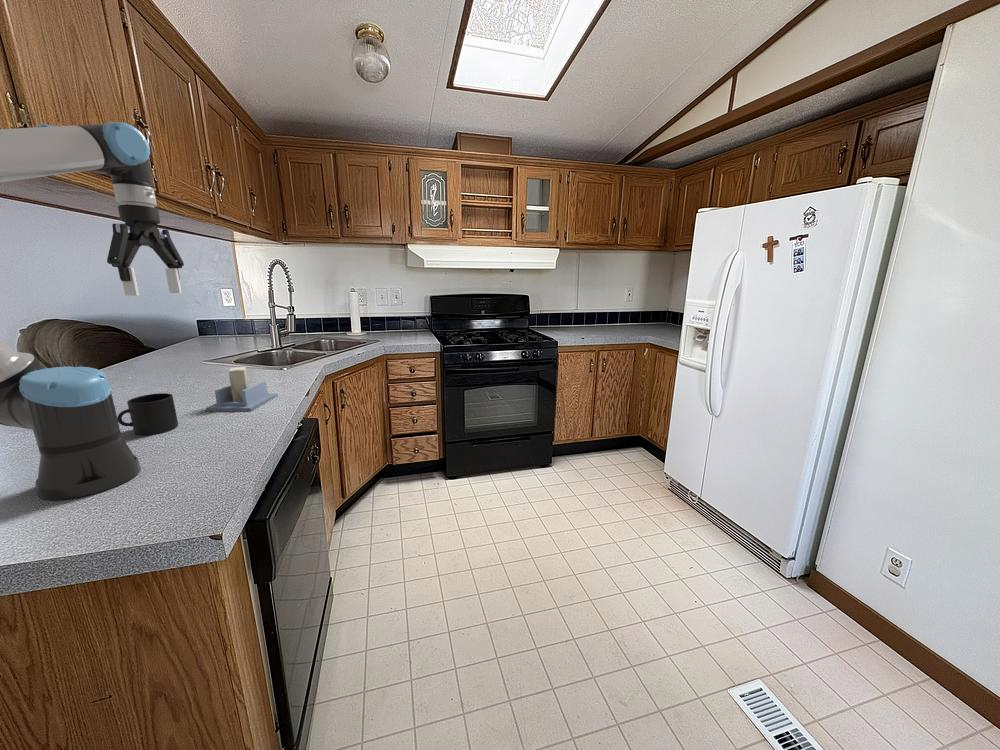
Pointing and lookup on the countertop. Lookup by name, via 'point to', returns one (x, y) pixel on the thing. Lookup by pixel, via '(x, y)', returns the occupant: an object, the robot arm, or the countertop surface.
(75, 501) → the countertop surface
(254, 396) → the slot bracket
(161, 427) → the mug
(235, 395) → the box
